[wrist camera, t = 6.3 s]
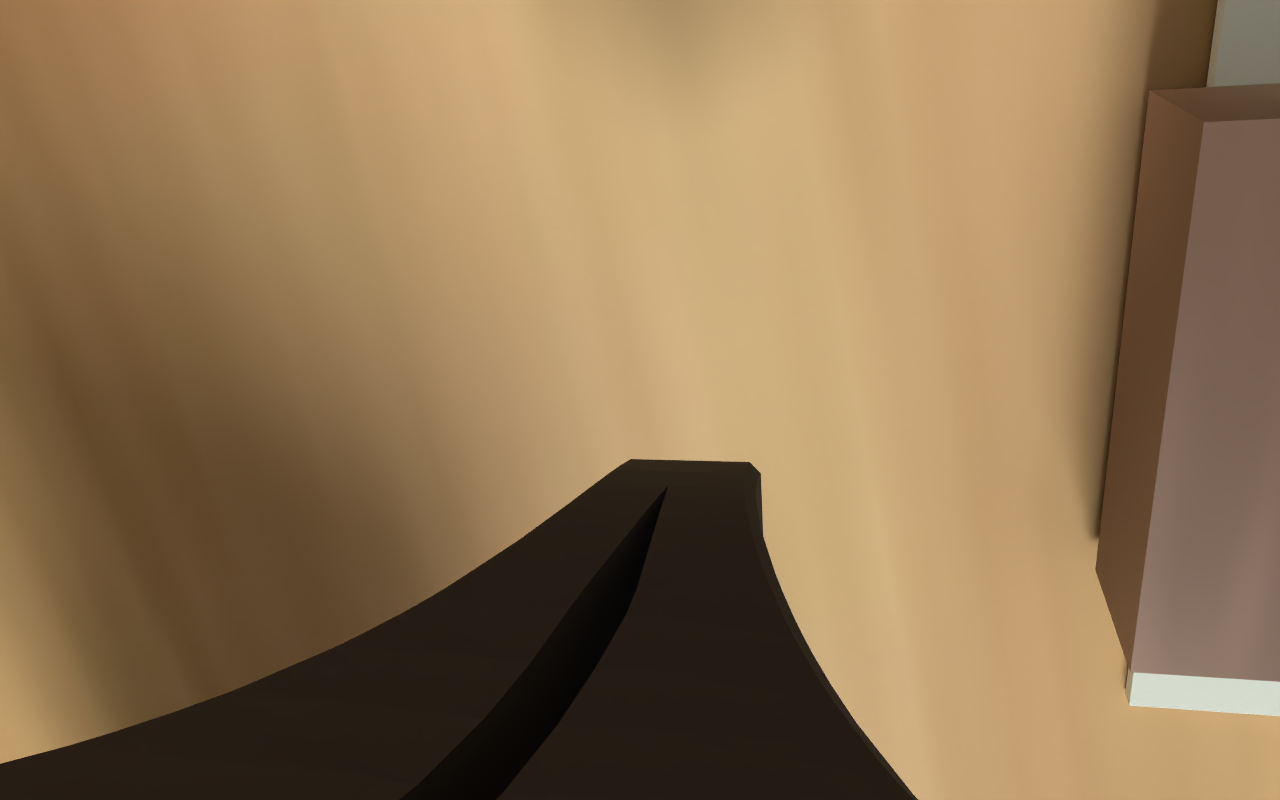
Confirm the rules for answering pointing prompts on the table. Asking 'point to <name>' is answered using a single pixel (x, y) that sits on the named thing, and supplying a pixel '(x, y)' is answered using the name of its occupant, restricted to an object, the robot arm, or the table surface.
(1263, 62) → the mat
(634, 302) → the table surface
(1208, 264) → the slab
